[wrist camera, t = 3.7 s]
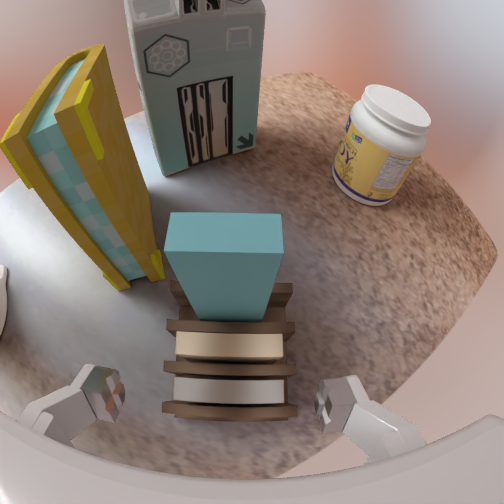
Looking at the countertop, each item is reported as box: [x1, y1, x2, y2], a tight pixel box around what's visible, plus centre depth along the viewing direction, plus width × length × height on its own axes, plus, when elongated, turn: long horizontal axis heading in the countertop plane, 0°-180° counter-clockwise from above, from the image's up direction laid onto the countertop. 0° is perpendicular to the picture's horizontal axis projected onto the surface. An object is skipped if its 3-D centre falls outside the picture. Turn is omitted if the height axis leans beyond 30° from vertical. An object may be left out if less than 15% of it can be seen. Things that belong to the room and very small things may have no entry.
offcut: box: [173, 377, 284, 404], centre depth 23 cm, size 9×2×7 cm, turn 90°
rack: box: [162, 280, 297, 421], centre depth 26 cm, size 12×16×6 cm
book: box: [0, 44, 165, 291], centre depth 25 cm, size 17×7×25 cm, turn 18°
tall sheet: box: [164, 212, 284, 322], centre depth 22 cm, size 6×2×18 cm, turn 90°
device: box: [124, 0, 265, 176], centre depth 32 cm, size 16×8×30 cm, turn 116°
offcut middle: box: [175, 331, 283, 364], centre depth 25 cm, size 9×2×7 cm, turn 90°
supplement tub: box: [332, 85, 431, 206], centre depth 36 cm, size 12×12×17 cm
